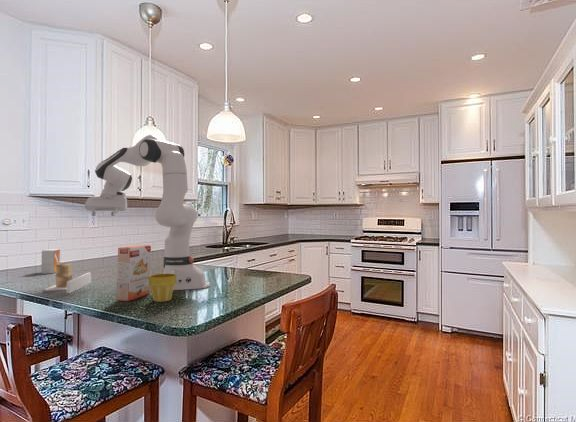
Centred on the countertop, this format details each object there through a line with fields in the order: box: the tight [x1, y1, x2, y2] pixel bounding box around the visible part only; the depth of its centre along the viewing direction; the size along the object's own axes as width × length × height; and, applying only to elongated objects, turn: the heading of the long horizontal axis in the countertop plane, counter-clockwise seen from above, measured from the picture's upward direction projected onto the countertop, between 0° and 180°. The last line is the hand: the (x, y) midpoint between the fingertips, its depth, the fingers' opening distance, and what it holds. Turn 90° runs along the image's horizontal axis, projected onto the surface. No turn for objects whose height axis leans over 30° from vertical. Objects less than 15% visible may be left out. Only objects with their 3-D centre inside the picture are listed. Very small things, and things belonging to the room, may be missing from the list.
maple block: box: [55, 263, 73, 287], centre depth 159 cm, size 5×4×10 cm
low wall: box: [66, 272, 92, 294], centre depth 159 cm, size 1×24×5 cm, turn 10°
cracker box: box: [116, 244, 152, 302], centre depth 142 cm, size 14×6×21 cm, turn 168°
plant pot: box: [149, 273, 176, 303], centre depth 138 cm, size 10×10×10 cm
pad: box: [43, 284, 67, 292], centre depth 159 cm, size 11×12×1 cm
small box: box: [40, 248, 61, 274], centre depth 199 cm, size 8×6×13 cm
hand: (103, 215), depth 180 cm, fingers open, 8 cm apart
